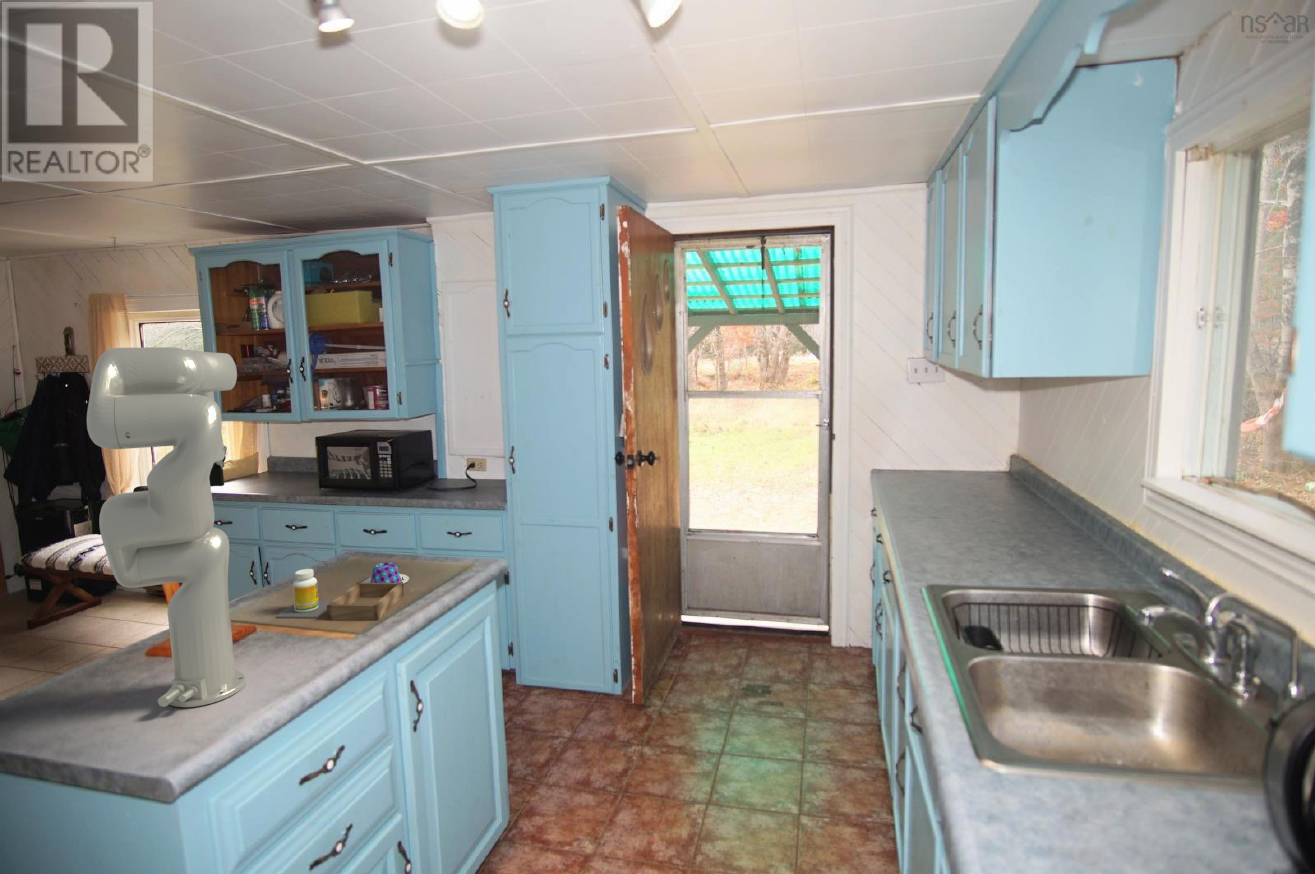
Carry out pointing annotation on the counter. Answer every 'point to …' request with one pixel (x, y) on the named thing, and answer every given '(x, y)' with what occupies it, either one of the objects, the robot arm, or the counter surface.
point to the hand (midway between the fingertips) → (202, 490)
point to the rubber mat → (312, 614)
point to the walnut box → (349, 611)
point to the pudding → (386, 574)
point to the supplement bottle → (305, 591)
